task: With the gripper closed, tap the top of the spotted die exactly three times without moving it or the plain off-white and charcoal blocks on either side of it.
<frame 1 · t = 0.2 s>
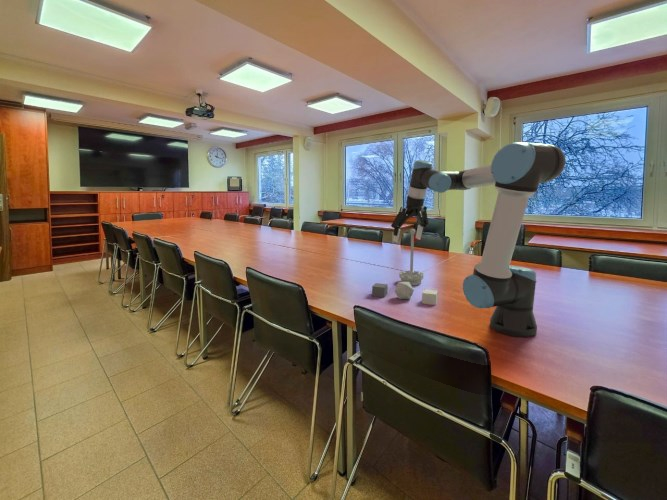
hand: (406, 240, 156), 27 cm above the table, tool tilted 15°, fingers open, 13 cm apart
off-white block: (429, 302, 152), on the table
charcoal block: (379, 295, 163), on the table
flag stand: (411, 282, 185), on the table
die: (403, 298, 158), on the table
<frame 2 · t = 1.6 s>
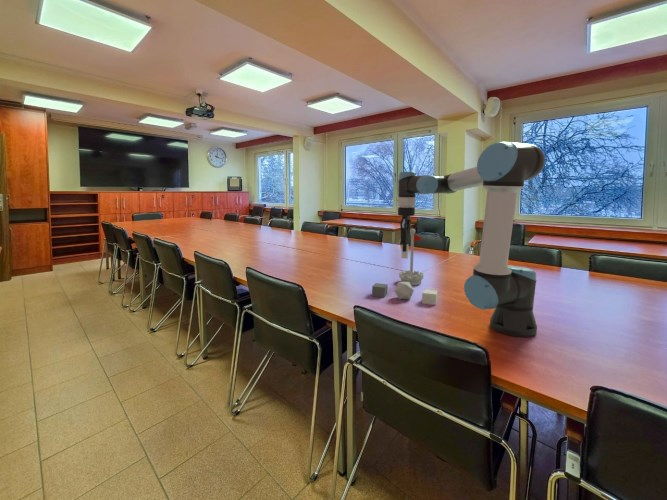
hand: (404, 257, 154), 19 cm above the table, tool pointing down, fingers closed
nothing on the table moved.
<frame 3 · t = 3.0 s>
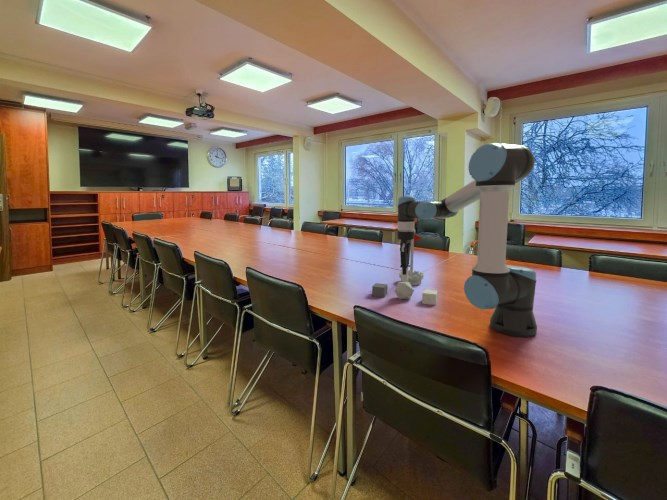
hand: (404, 280, 156), 9 cm above the table, tool pointing down, fingers closed
nothing on the table moved.
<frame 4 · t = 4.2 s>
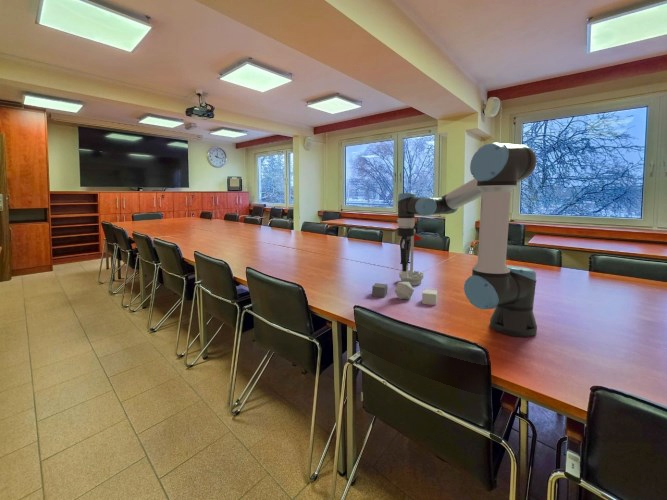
hand: (404, 277, 155), 10 cm above the table, tool pointing down, fingers closed
nothing on the table moved.
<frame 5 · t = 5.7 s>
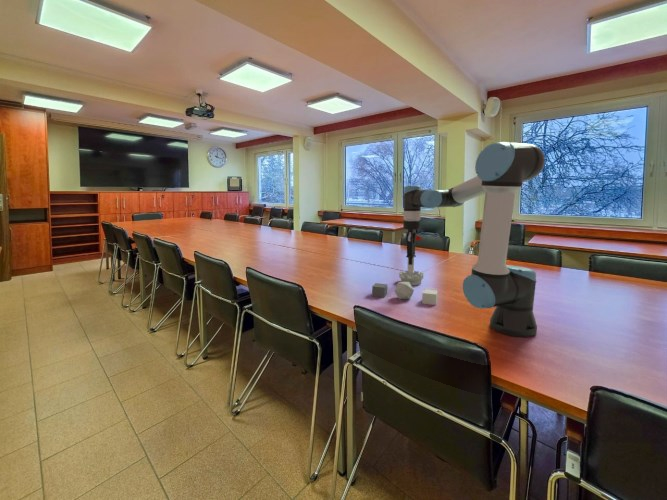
hand: (410, 270, 155), 13 cm above the table, tool pointing down, fingers closed
nothing on the table moved.
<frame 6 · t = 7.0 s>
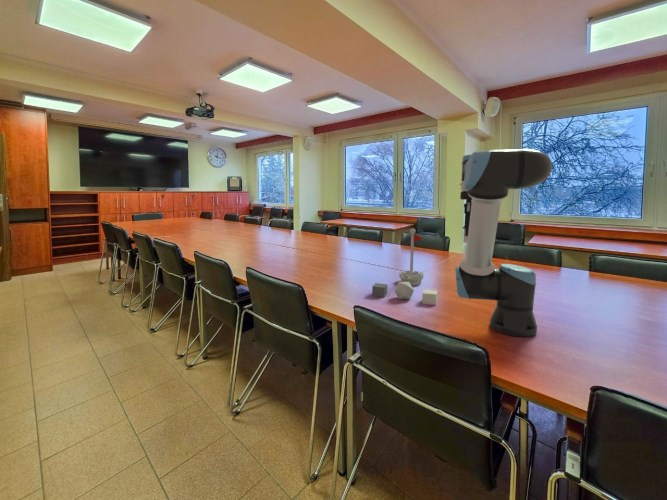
hand: (466, 242, 153), 26 cm above the table, tool pointing down, fingers closed
nothing on the table moved.
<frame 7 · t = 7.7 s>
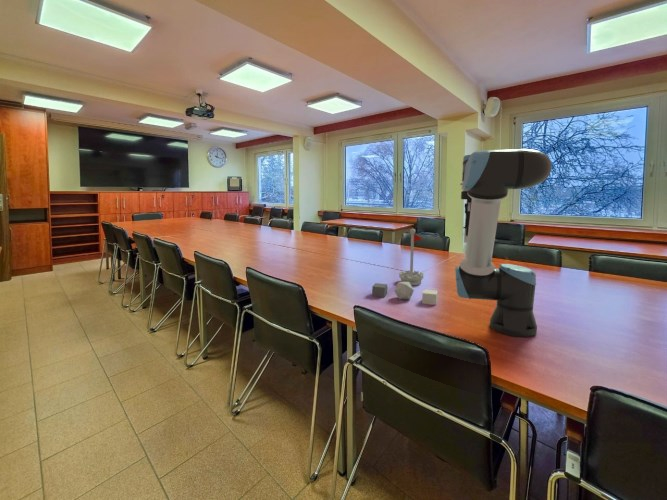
hand: (467, 242, 153), 26 cm above the table, tool pointing down, fingers closed
nothing on the table moved.
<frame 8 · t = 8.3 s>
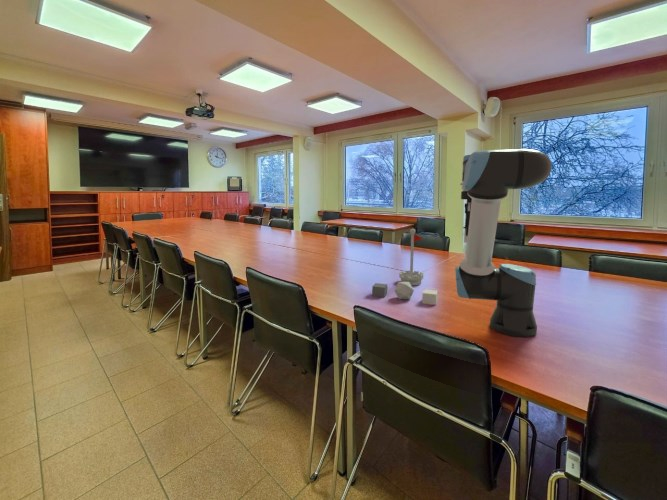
hand: (467, 242, 153), 26 cm above the table, tool pointing down, fingers closed
nothing on the table moved.
at the end: die moved 0.2 cm from its start; off-white block moved 0.2 cm from its start; charcoal block moved 0.2 cm from its start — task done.
